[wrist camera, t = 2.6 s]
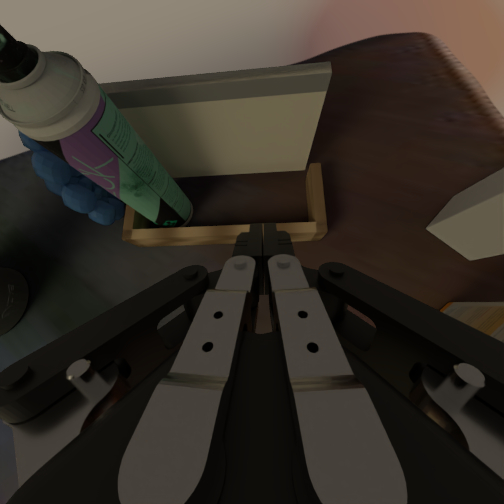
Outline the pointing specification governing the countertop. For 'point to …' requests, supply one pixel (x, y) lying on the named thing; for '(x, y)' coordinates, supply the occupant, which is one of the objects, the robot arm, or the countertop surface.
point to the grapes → (74, 186)
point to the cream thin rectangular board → (227, 118)
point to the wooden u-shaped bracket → (315, 229)
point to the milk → (474, 219)
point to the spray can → (85, 129)
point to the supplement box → (479, 316)
